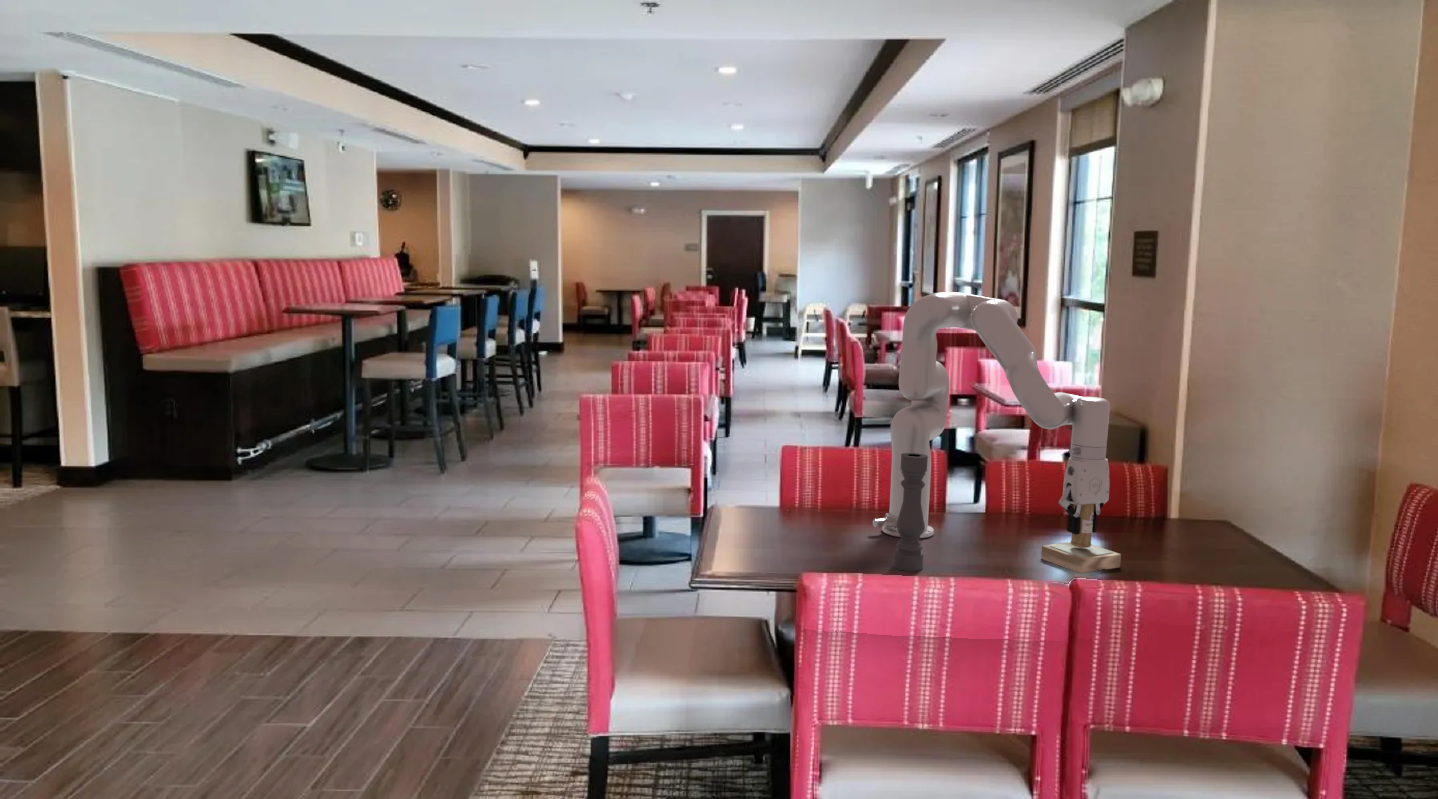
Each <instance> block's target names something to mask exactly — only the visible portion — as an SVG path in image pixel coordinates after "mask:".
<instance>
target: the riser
mask: <svg viewBox="0 0 1438 799" xmlns="http://www.w3.org/2000/svg"><path fill="white" fill-rule="evenodd" d="M1070 542H1071V541H1067V542H1061V543H1059V542H1058V543H1052V544H1044V545H1041V552H1040V553H1041V554H1040V555H1041V556H1040V559H1041V560H1044V561H1047V562H1049V563H1052V564H1055V565H1058V566H1061V567H1063V568H1066V569H1068V570H1071V571H1074V572H1077V573H1079V574H1084V573H1091V572H1096V571H1097V570H1099V571H1103V570H1102V569H1105V570H1112V569H1118V568H1121V560H1122V554H1121V553H1118V552H1116V551H1112V550H1110V549H1107V548H1105V547H1100V546H1098V545H1094V544H1092V543H1091V546H1090V547H1086V548H1081V547H1076V546H1073V545H1071V543H1070ZM1100 569H1101V570H1100ZM1097 572H1098V571H1097Z"/></svg>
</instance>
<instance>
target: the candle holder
mask: <svg viewBox="0 0 1438 799" xmlns="http://www.w3.org/2000/svg"><path fill="white" fill-rule="evenodd" d="M927 460H928V456H927V455H924V454H919V453H903V454H901V468H900V469H901V470H902V474H903V477H904V480H903V481H901V486H903V488H904V492H903V503H902V506H901V510H900V513H899V517H898V520H897V525H896V526H897V530H898V532H899V534H900V537H899V538H900V539H899V540H898V542H896V549H895V551H894V564H893V565H894V568H895V569H897V570H899V571H902V572H903V571H905V572H920V571H921V570H923V569H924V566H923V565H924V552H923V551H922V550H923V549H924V548H923V545H922V544H921V542H920V539H921V538H920V535H921V534H922V533H923V532H924V529H925V524H924V518H923V513H922V507H921V490H922V488H923V487H925V483H924V482H923V481H922V479H923V477H924V475H925V472H926V471H927Z"/></svg>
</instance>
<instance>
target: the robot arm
mask: <svg viewBox="0 0 1438 799" xmlns="http://www.w3.org/2000/svg"><path fill="white" fill-rule="evenodd" d="M1018 318H1019V316H1018V311H1017V309H1016V308H1015V307H1014V305H1013V304H1012V303H1010V302H1009V301H1007V300H1005V299H1000V298H993V297H985V296H982V295H975V294H969V293H964V292H963V293H962V292H957V291H956V292H955V291H952V292H946V291H943V292H942V291H941V292H933V293H930V294H928V295H925V296H922V297H921V298H919V299H917V300H915V302H913V303H912V305H910V307H909V308H908V309H907V310H906V314H905V316H904V319H903V323H902V336H901V337H902V338H901V350H900V360H899V362H900V363H899V373H898V388H899V392H900V394H901V395H902V396H903V398H905V399H907V400H909V401H911V402H910V403H911V405H908V406H906V407H903V408H901V409H900V410H898V411H897V412H896V413H895V415H894V416H893V417H892V419H891V423H890V429H889V430H890V440H891V474H890V494H889V512H888V513H887V512H886V513H885V516H884V517H882V518H874V519H873V520H872V526H873V527H874V528H880V527H881V528H882V529H881V530H882V532H883V533H884V534H886V535H889V536H893V537H896V538H897V537H898V538H900V534H899V532H898V530H897V526H896V525H897V520H898V517H899V513H900V510H901V506H902V503H903V492H904V488H903V486H901V481H903V480H904V477H903V474H902V470H901V469H900V468H901V454H903V453H919V454H924V455H927V456H928V460H927V471H926V472H925V475H924V477H923V479H922V481H923V482H924V483H925V487H923V488H922V490H921V507H922V513H923V518H924V524H925V529H924V532H923V533H922V534H921V535H920V539H925V538H930V537H932V536H934V534H935V529H934V528H933V527H932V526H931V525H928V524H929V511H930V510H929V507H930V494H931V493H930V491H931V477H932V476H931V473H932V472H931V470H932V455H931V446H930V441H932V440H934V439H936V438H938V437H939V436H940V435H942V433H943V431H944V430H945V428H946V424H947V418H948V405H949V394H950V393H949V391H950V377H949V373H948V371H947V368H946V367H945V366H944V365H943V364H942V363H941V362H940V361H937V354H938V339H937V332H938V330H940V329H945V328H946V329H947V328H948V329H950V328H959V329H965V330H969V331H975V333H976V334H977V336H978V337H979V338H980V339H981V341H982V342H983V344H984V345H985V346H986V348H987V349H988V350H989V351H990V353H991V354H992V356H993V358H995V360H996V361H997V363H998V364H999V365H1000V367H1001V368H1002V370H1003V371H1004V374H1005V377H1006V380H1007V382H1008V384H1009V387H1010V388H1011V390H1012V391H1011V392H1013V394H1014V397H1015V398H1016V400H1017V401H1018V402H1019V404H1020V406H1021V407H1022V409H1024V411H1025V412H1026V414H1027V415H1028V416H1029V417H1030V419H1031V420H1032V421H1033V422H1034V423H1035V424H1036V425H1037V426H1038V427H1041V428H1042V429H1046V430H1054V429H1058V428H1060V427H1062V426H1066V425H1067V426H1068V425H1072V428H1071V439H1070V442H1071V443H1070V448H1069V450H1068V453H1069V457H1068V459H1067V463H1066V468H1065V470H1064V477H1063V487H1062V496H1061V497H1060V498H1059V500H1058V505H1060V506H1061V507H1062V508H1063V509H1064V511H1065V514H1066V515H1067V527H1066V531H1067V533H1070V534H1072V533H1073V534H1076V535H1077V534H1079V533H1080V522H1081V517H1078V516H1079V513H1080V509H1081V505H1087V504H1094V511H1093V513H1094V515H1093V527H1092V533H1097V527H1098V526H1097V525H1098V516H1099V515H1100V514H1101V510H1102V509H1103V507H1104V505H1105V504H1106V503H1108V501H1109V500H1110V497H1109V496H1110V467H1109V466H1110V465H1109V459H1108V458H1106V456H1107V448H1108V447H1107V445H1108V436H1109V435H1108V433H1109V422H1110V413H1111V412H1110V411H1111V404H1110V401H1109V400H1108V399H1106V398H1103V397H1099V396H1081V395H1080V396H1079V395H1075V394H1071V393H1068V392H1067V393H1066V392H1061V391H1060V392H1059V391H1058V392H1054V391H1053V390H1052V389H1051V387H1050V386H1049V385H1048V383H1047V382H1046V380H1045V379H1044V377H1043V375H1042V374H1041V372H1040V369H1039V364H1038V353H1037V350H1036V347H1035V346H1034V345H1033V343H1032V342H1031V340H1030V339H1029V338H1028V337H1027V335H1026V334H1025V333H1024V331H1023V330H1022V329H1021V327H1020V326H1019V325H1018V320H1019V319H1018ZM1074 505H1076V506H1075V509H1074Z"/></svg>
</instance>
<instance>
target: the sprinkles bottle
mask: <svg viewBox="0 0 1438 799" xmlns="http://www.w3.org/2000/svg"><path fill="white" fill-rule="evenodd" d="M1075 506H1076V505H1073V508H1074V509H1075ZM1093 511H1094V504H1087V505H1081V509H1080V513H1079V516H1078V517H1081V522H1080V533H1079V534H1077V535H1076V534H1073V533H1071V540H1070V541H1069V542H1070V543H1071V545H1073V546H1076V547H1081V548H1086V547H1090V546H1091V544H1092V535H1093V534H1092V533H1093V532H1092V527H1093V515H1094V513H1093Z"/></svg>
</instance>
